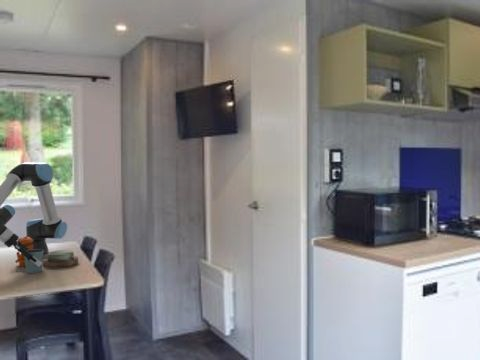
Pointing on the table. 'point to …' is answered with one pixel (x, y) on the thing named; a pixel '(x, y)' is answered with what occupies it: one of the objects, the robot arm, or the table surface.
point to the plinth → (60, 264)
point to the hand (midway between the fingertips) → (40, 263)
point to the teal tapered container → (29, 264)
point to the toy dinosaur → (25, 242)
